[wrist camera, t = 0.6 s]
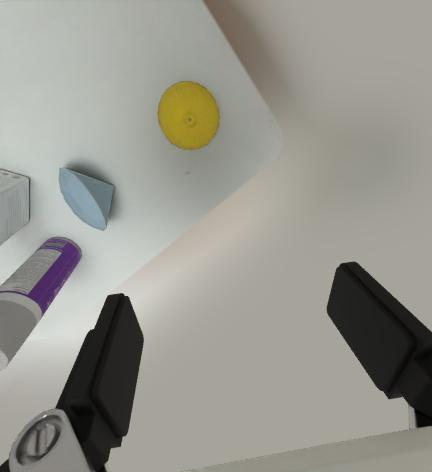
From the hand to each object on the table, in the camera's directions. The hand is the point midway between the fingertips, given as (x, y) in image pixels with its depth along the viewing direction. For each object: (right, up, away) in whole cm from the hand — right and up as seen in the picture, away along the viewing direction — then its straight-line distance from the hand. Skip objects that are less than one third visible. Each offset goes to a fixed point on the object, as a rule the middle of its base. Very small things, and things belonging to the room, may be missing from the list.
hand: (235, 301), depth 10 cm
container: (-22, +1, +21) cm, 30 cm away
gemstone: (-16, +8, +17) cm, 25 cm away
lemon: (-4, +16, +14) cm, 22 cm away
